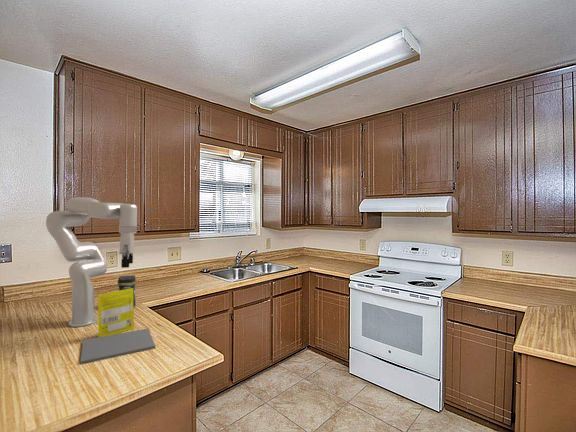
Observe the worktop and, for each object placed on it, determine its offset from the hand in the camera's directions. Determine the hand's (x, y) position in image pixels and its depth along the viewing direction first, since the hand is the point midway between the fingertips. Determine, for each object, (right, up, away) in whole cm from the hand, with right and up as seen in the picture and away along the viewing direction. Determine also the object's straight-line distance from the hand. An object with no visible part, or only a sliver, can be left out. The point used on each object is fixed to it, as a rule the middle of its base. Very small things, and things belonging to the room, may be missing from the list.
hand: (127, 265), depth 148 cm
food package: (-3, -32, -4) cm, 32 cm away
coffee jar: (-18, -31, +35) cm, 50 cm away
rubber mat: (+5, -32, -16) cm, 36 cm away
